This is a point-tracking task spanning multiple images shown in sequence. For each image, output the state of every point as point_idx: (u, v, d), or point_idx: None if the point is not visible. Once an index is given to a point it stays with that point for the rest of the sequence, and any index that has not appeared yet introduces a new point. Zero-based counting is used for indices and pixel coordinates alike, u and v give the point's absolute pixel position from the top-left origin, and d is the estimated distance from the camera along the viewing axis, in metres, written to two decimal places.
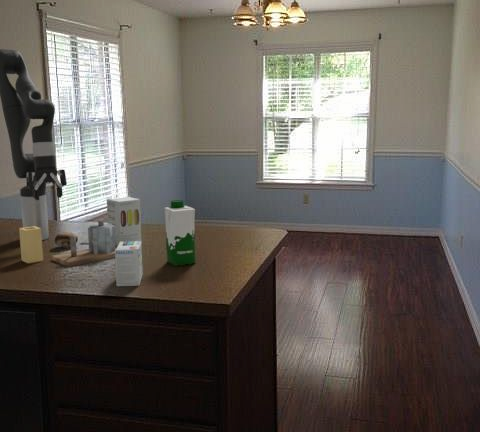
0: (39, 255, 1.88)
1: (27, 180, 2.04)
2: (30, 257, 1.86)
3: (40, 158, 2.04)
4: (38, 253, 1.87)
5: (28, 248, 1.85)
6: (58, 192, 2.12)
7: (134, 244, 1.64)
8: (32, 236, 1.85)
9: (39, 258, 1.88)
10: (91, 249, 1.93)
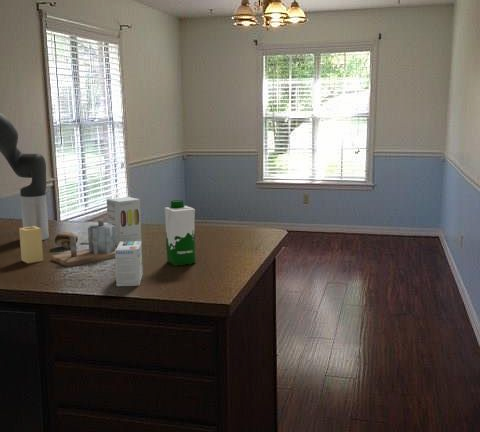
0: (39, 255, 1.88)
1: None
2: (30, 257, 1.86)
3: None
4: (38, 253, 1.87)
5: (28, 248, 1.85)
6: None
7: (134, 244, 1.64)
8: (32, 236, 1.85)
9: (39, 258, 1.88)
10: (91, 249, 1.93)
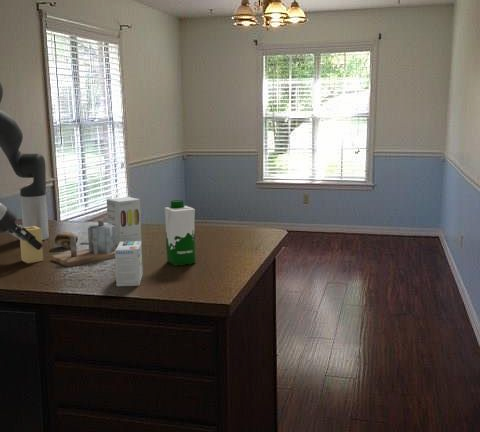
0: (39, 255, 1.88)
1: None
2: (30, 257, 1.86)
3: None
4: (38, 253, 1.87)
5: (28, 248, 1.85)
6: None
7: (134, 244, 1.64)
8: None
9: (39, 258, 1.88)
10: (91, 249, 1.93)
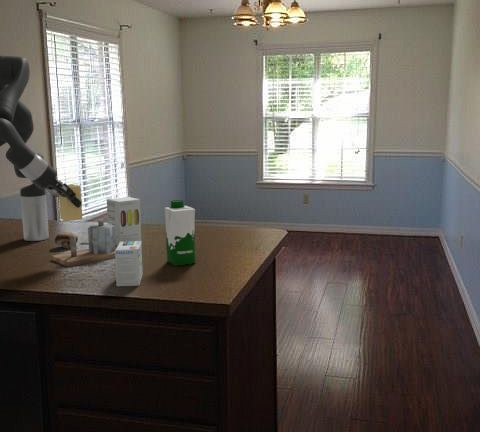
0: (78, 213, 1.85)
1: None
2: (70, 215, 1.83)
3: None
4: (77, 211, 1.84)
5: (68, 205, 1.82)
6: None
7: (134, 244, 1.64)
8: None
9: (78, 216, 1.85)
10: (91, 249, 1.93)
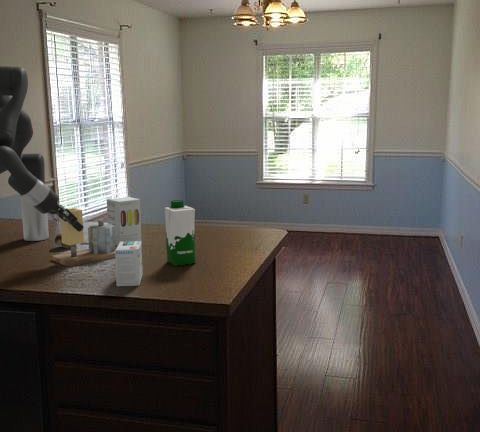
0: (80, 237, 1.86)
1: None
2: (71, 239, 1.84)
3: None
4: (79, 235, 1.86)
5: (69, 230, 1.83)
6: None
7: (134, 244, 1.64)
8: None
9: (80, 240, 1.86)
10: (91, 249, 1.93)
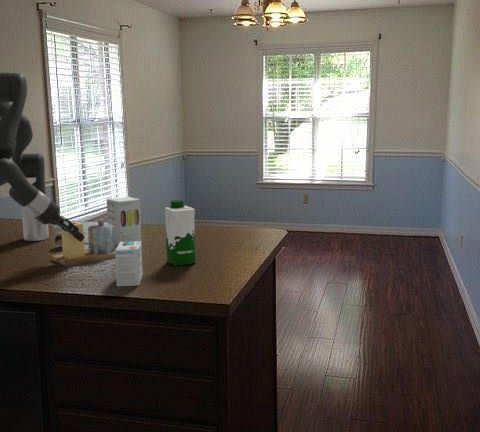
0: (81, 251, 1.87)
1: None
2: (72, 252, 1.85)
3: None
4: (80, 249, 1.87)
5: (70, 244, 1.84)
6: None
7: (134, 244, 1.64)
8: None
9: (81, 254, 1.87)
10: (91, 249, 1.93)
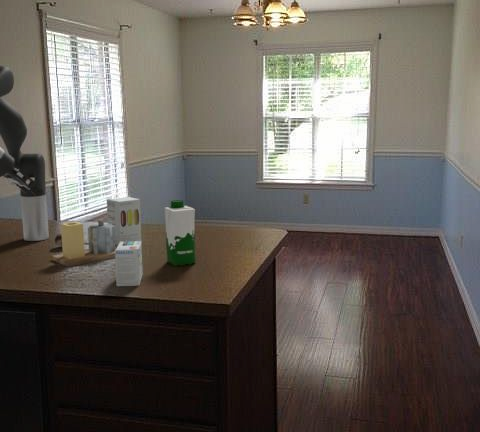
0: (81, 251, 1.87)
1: None
2: (72, 252, 1.85)
3: None
4: (80, 249, 1.87)
5: (70, 244, 1.84)
6: None
7: (134, 244, 1.64)
8: (74, 231, 1.84)
9: (81, 254, 1.87)
10: (91, 249, 1.93)
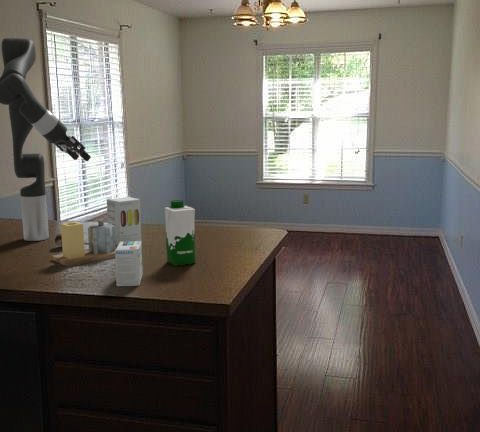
0: (81, 251, 1.87)
1: None
2: (72, 252, 1.85)
3: None
4: (80, 249, 1.87)
5: (70, 244, 1.84)
6: None
7: (134, 244, 1.64)
8: (74, 231, 1.84)
9: (81, 254, 1.87)
10: (91, 249, 1.93)
